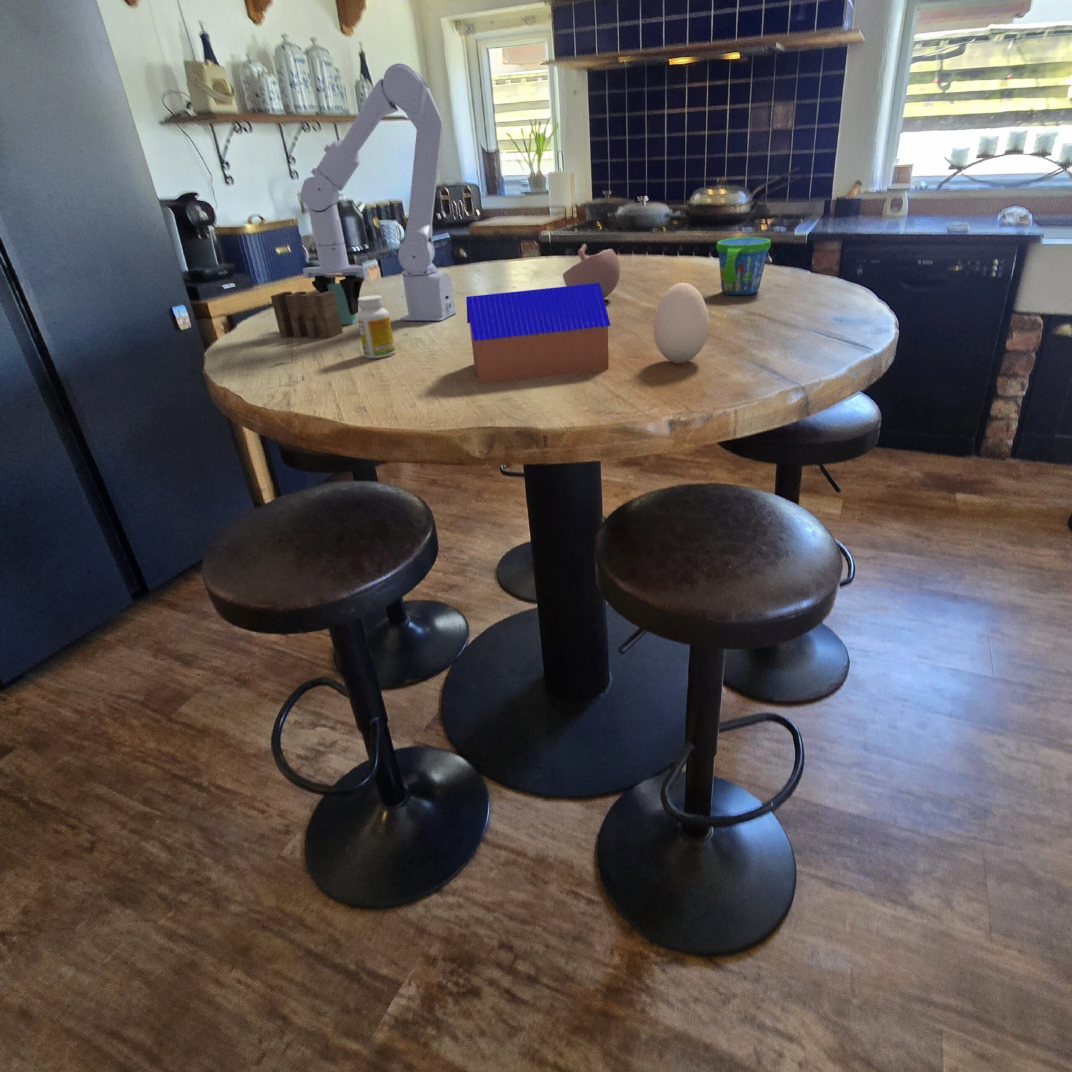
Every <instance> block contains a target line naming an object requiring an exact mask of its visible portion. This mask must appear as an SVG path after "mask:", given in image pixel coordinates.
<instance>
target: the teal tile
mask: <svg viewBox="0 0 1072 1072" xmlns="http://www.w3.org/2000/svg"><path fill="white" fill-rule="evenodd" d="M327 287H328V291H334V292H335V297H336V301H337V306H338V311H339V316H340V321H341V325H354V324H358V320H357V313H356V314H353V315H350V312H349V309H348V304H347V300H346V296H345V293H344V291H343V288H342V286H341V284H340V282H339V283H337V282H335V283H331V284H328V285H327Z"/></svg>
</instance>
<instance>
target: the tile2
mask: <svg viewBox="0 0 1072 1072" xmlns="http://www.w3.org/2000/svg"><path fill="white" fill-rule="evenodd" d="M314 297H315V302H316V306H317V311H318V315H319V320H320V324H321V329H322V334H323V335H322V337H323V339H332V338H334V337H336V336H339V335H340V334H343V332H344V331H343V327H342V324H341V321H340V316H339V311H338V306H337V301H336V297H335V292H334V291H327V292H324V293H321V294H318V295H315V296H314Z"/></svg>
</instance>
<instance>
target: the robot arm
mask: <svg viewBox="0 0 1072 1072" xmlns="http://www.w3.org/2000/svg"><path fill="white" fill-rule="evenodd" d="M399 109H400V110H401V111H403V112H404V113H405V115H406V116H407V118H408V119H409V121H410V122H411V123H412V125H413V126H414V128H415V130H416V134H415V143H414V144H415V145H414V152H413V153H414V154H413V156H414V157H413V166H412V176H411V185H410V197H409V207H408V219H407V224H406V226H405V227H406V228H405V231H404V239H403V242H402V243H401V245H400V247H399V248H398V254H397V257H398V258H397V259H398V262H399V264H400V266H401V268H402V269H403V270H402V271H401V274H402V282H403V287H404V296H405V300H406V308H407V314H406V315H404V316H403V317H401V318H400V321H417V322H418V321H421V322H422V321H428V322H429V321H431V322H433V321H436V322H437V321H439V322H440V321H443V320H445V319H447V318H449V317H450V316H452V315H455V314H456V313H457V310H456V308H455V300H454V293H453V291H454V290H453V284H452V280H451V277H450V276H449V274H448V273H446V272H440V271H438V268H437V266H436V265H435V264H434V263H432V262H433V261H434V259H435V255H436V251H435V247H434V243H433V218H434V211H435V210H434V208H435V200H436V193H437V184H438V183H437V182H438V174H439V173H438V172H439V165H440V157H441V156H440V155H441V147H442V137H443V131H444V129H443V128H444V123H443V122H444V121H443V119H442V116H441V113H440V111H439V109H438V106H437V104H436V101H435V100H434V97H433V94H432V92H431V89H430V86H429V84H428V83H427V82H426V81H425V80H424V79H423V77H422V76H421V75H420V74H419V73H418V72H417V71H416V70H415V69H413V68H412V67H410V66H409V65H407V64H405V63H401V62H399V63H394V64H392V65H390V66H389V67H388V68H387V69H386V70H385V71H384V75H383V78H380V79H378V81H377V82H376V83H375V85H374V86H373V88H372V90H371V91H370V93H369V95H368V96H367V98H366V99H365V101H364V103H363V105H362V107H361V109H359V112H358V113H357V116H356V117H355V118H354V121H353V123H352V124H351V126H350V128H349V129H348V131H347V133H346V135H344V138H343V139H341V140H334V141H332V143H331V144H326V145H325V147H324V148H323V151H324V152H325V154H324V155H323V157H322V159H321V160H320V162H319V163H318V165H317V167H313V168H312V170H311V171H310V173H311V174H312V175H313V176H310V177H307V178H305V179H304V180H303V184H302V186H301V189H300V190H301V193H300V194H301V199H302V200H303V202H304V204H305V205H306V207H307V208H308V213H309V218H310V219H309V220H310V225H311V229H312V235H313V239H314V243H315V248H316V253H317V258H318V259H317V260H318V262H319V266H311V267H310V266H308V267H305V268H302V271H303V276H304V277H303V278H304V279H311V278H312V279H314V280H313V281H311V283H312V284H311V285H312V286H313V288H314V289H315V290H316V291H320V294H321V293H324V292H327V291H328V287H327V285H328V284H331V283H336V278H342V279H340V280H339V281H338V282H339V283H340V284H341V286H342V288H343V291H344V293H345V296H346V300H347V304H348V309H349V312H350V315H353V314H356V315H357V314H358V313H359V303H358V298H360V294H361V289H362V285H363V282H364V278H367V277H370V269H369V265H356V264H355V265H352V264H350V263H349V258H348V254H347V249H346V247H347V246H346V243H345V237H344V232H343V228H342V222H341V218H340V214H339V210H338V203H339V200H340V192H342V191H343V189H345V187H346V185H347V184H348V182H349V180H350V179H351V178H352V175H353V174H354V173H355V171H356V169H357V168H358V166H359V165H360V156H359V151H360V150H361V148H362V147H363V146H364V145H365V143H366V142H367V140H368V139H369V137H370V136H371V134H372V133H373V131H374V130H375V129H376V127H377V126H378V124H379V123H380V121H381V120H382V118H384V117H386V116H388V115H391V114H394V113H396V112H399Z"/></svg>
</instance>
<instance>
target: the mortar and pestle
mask: <svg viewBox="0 0 1072 1072" xmlns="http://www.w3.org/2000/svg"><path fill="white" fill-rule="evenodd" d="M586 250H587V244H586V243H583V244H581V247H580V248H579V249H578V251H577V253H578V256H579V259H580V262H578V263H576V264H574V265H573V266H571V267H570V268H569V269H567V270H566V271H564V272H563V273H562V278H563V280H564V281H563V282H564V284H565V287H566V286H575V285H585V284H595V283H600V286H601V289H602V293H603V297H604V299H605V298H607V297H608V296H609V295H611V293H613V291H614V290H615V289H616V287H617V285H618V283H619V280H620V275H621V265H620V261H619V258H618V255H617V253H616V252H615V251H614V250H613V248H608V249H603V250H601V251H600V252H599V253H595V254H593V255H591V256H588V257H586V254H585V252H586Z"/></svg>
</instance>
